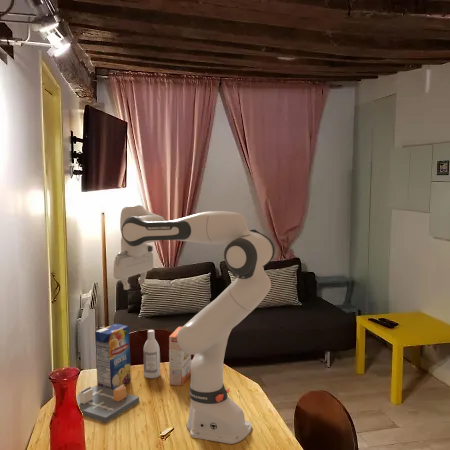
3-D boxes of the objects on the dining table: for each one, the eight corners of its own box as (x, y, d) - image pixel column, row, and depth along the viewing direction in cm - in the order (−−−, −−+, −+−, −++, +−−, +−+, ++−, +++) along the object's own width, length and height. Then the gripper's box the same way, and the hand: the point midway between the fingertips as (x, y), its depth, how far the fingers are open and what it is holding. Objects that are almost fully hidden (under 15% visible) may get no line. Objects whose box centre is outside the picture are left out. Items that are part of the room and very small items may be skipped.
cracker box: (183, 386, 199) (182, 337, 197) (169, 385, 201) (167, 336, 198) (192, 372, 213) (191, 326, 211) (178, 371, 214) (178, 325, 212)
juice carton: (117, 377, 209) (115, 323, 206) (130, 381, 205) (129, 326, 202) (97, 388, 198) (95, 331, 196) (111, 392, 195) (108, 334, 192)
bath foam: (150, 371, 215) (149, 327, 213) (163, 374, 212) (162, 329, 210) (140, 377, 209) (139, 332, 207) (154, 380, 206) (152, 334, 204)
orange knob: (126, 396, 185) (126, 385, 185) (118, 401, 182) (118, 389, 181) (121, 395, 187) (121, 383, 186) (113, 400, 183) (113, 388, 182)
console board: (139, 402, 186) (139, 396, 186) (105, 423, 171) (105, 417, 170) (96, 389, 197) (96, 385, 197) (61, 408, 182) (61, 403, 181)
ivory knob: (92, 399, 184) (92, 387, 183) (84, 403, 180) (83, 391, 180) (88, 397, 185) (87, 386, 185) (79, 402, 181) (79, 390, 181)
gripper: (123, 254, 167) (124, 293, 168) (155, 246, 185) (156, 281, 187) (108, 253, 170) (109, 292, 171) (141, 245, 188) (143, 280, 189)
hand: (134, 286), depth 179 cm, fingers open, 8 cm apart
